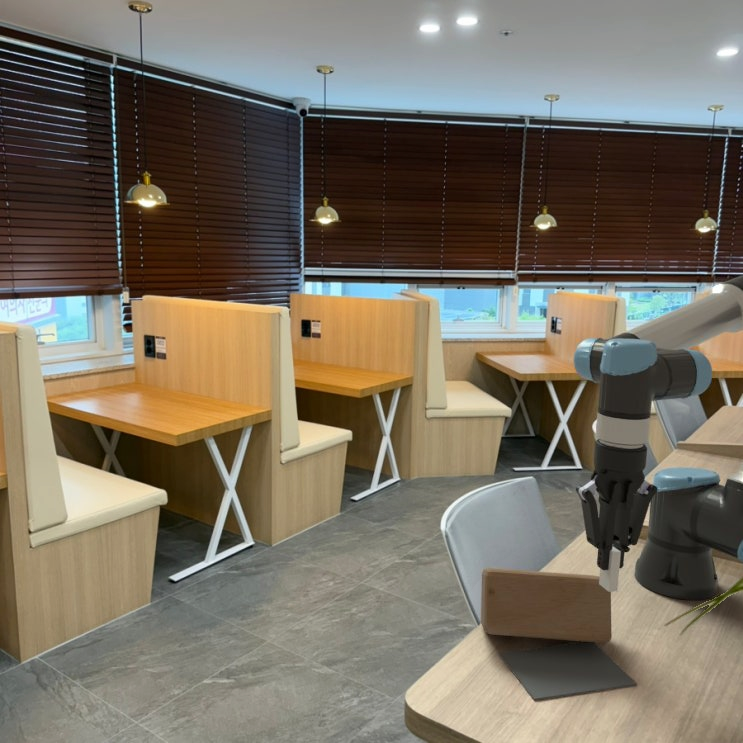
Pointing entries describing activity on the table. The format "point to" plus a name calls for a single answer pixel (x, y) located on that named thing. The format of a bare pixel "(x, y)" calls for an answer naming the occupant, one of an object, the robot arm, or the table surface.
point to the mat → (565, 670)
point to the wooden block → (545, 605)
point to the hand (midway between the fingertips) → (608, 587)
